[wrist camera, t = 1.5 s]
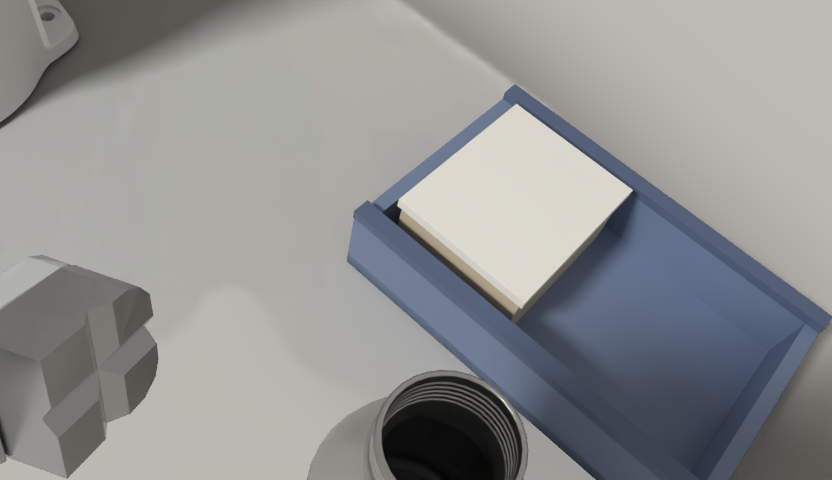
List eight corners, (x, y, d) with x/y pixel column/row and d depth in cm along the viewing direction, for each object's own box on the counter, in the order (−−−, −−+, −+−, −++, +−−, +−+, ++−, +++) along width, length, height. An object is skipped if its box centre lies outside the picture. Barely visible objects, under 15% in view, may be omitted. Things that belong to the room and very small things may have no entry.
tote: (345, 261, 43) (354, 210, 39) (494, 138, 50) (515, 84, 46) (661, 539, 37) (712, 515, 33) (778, 356, 45) (832, 316, 40)
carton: (386, 250, 43) (399, 198, 39) (494, 157, 48) (516, 103, 44) (498, 346, 41) (525, 303, 37) (599, 238, 46) (632, 190, 42)
